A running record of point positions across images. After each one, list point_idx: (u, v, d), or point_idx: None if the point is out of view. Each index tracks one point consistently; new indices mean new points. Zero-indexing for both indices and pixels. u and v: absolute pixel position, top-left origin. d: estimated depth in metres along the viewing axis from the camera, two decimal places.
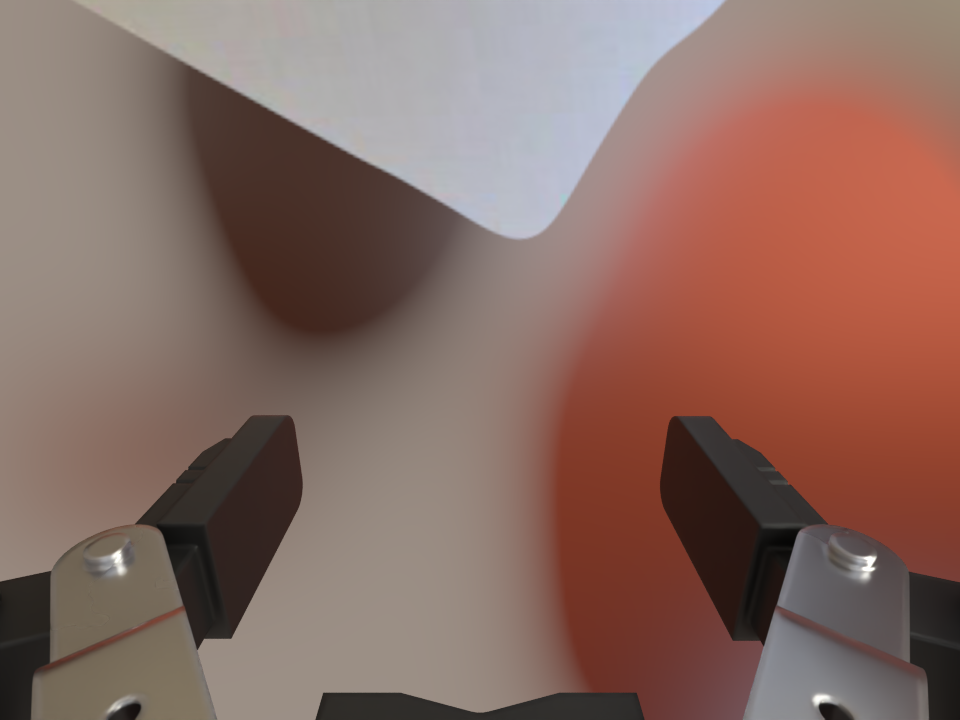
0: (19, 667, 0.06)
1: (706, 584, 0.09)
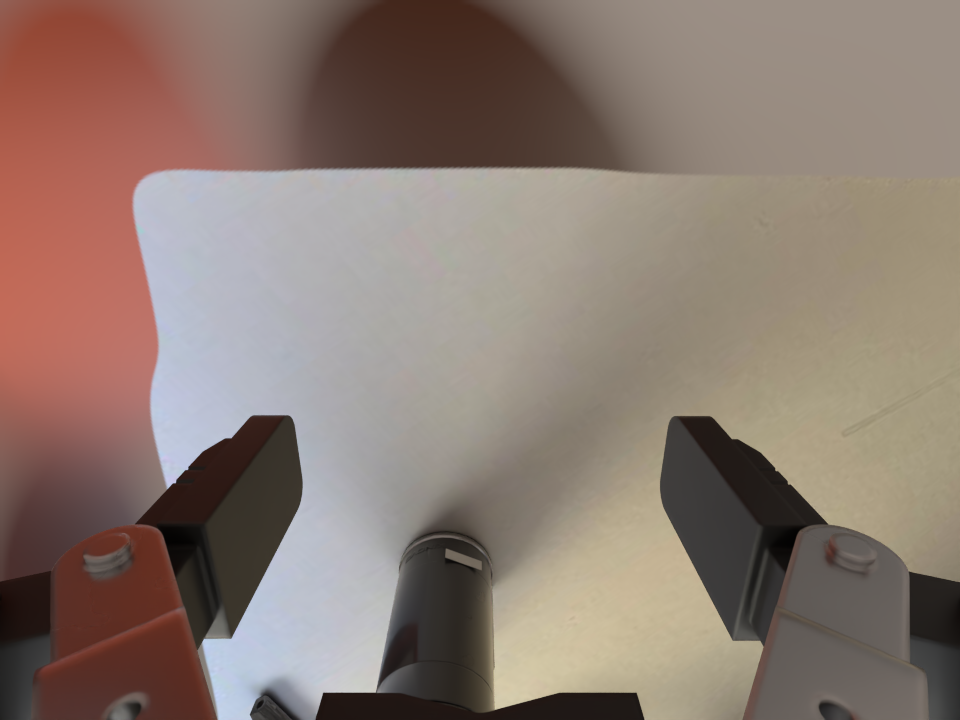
0: (19, 667, 0.06)
1: (706, 584, 0.09)
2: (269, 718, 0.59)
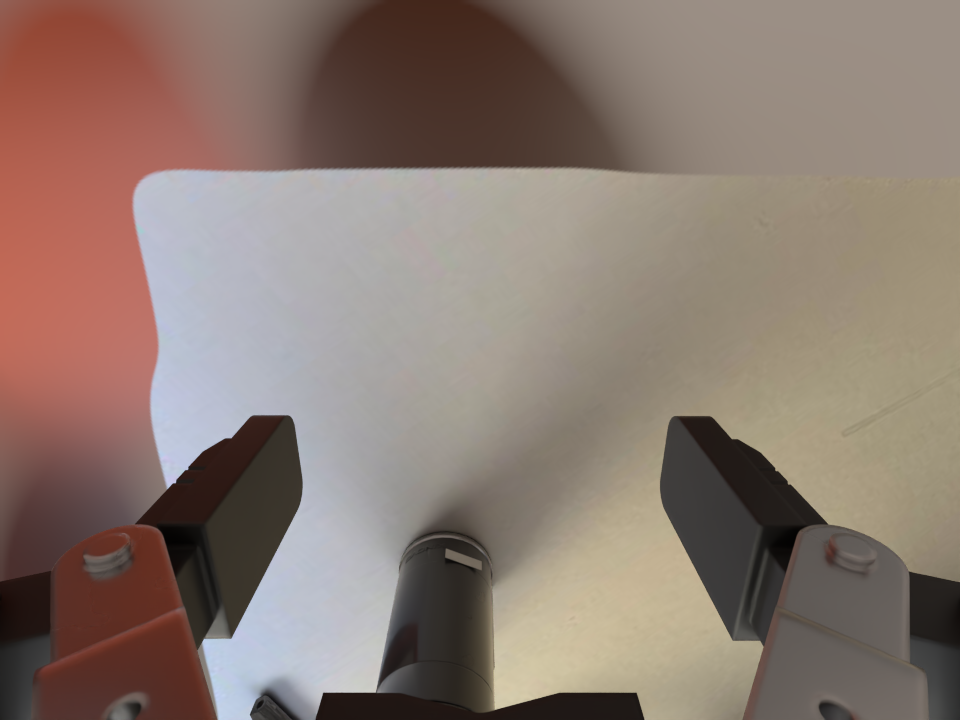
0: (19, 667, 0.06)
1: (706, 584, 0.09)
2: (269, 718, 0.59)
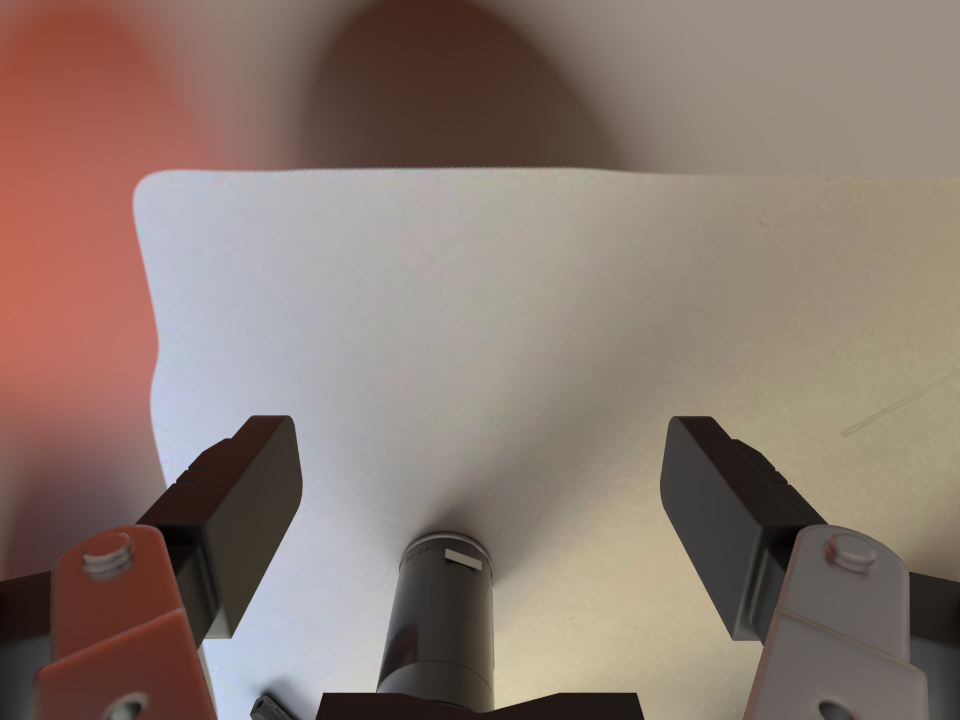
0: (19, 667, 0.06)
1: (706, 584, 0.09)
2: (269, 718, 0.59)
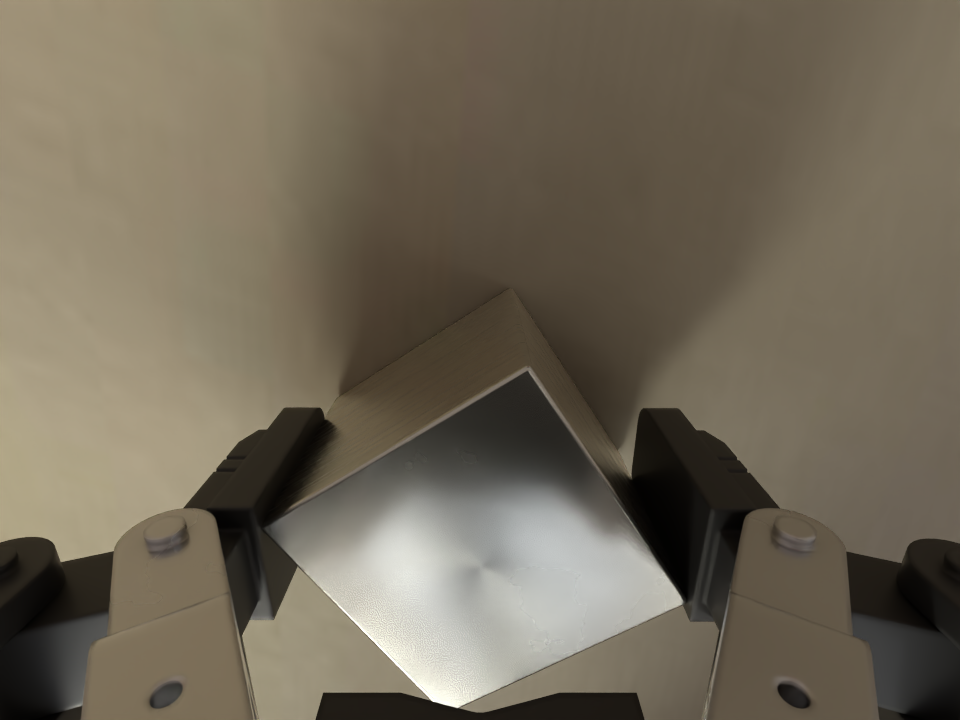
0: (76, 649, 0.06)
1: None
2: None
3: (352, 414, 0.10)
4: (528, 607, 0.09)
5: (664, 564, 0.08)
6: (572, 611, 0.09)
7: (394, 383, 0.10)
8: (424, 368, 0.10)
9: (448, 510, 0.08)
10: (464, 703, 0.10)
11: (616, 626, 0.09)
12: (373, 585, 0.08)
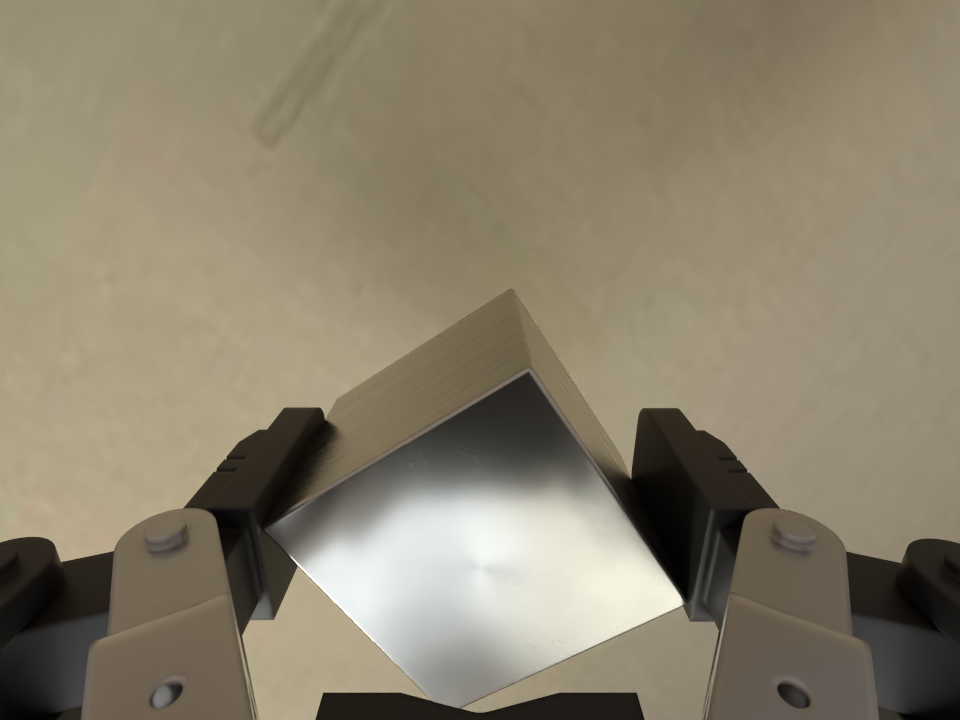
0: (76, 649, 0.06)
1: None
2: None
3: (353, 415, 0.10)
4: (529, 608, 0.09)
5: (665, 565, 0.08)
6: (573, 612, 0.09)
7: (395, 384, 0.10)
8: (425, 369, 0.10)
9: (449, 510, 0.08)
10: (465, 704, 0.10)
11: (617, 627, 0.09)
12: (375, 585, 0.08)
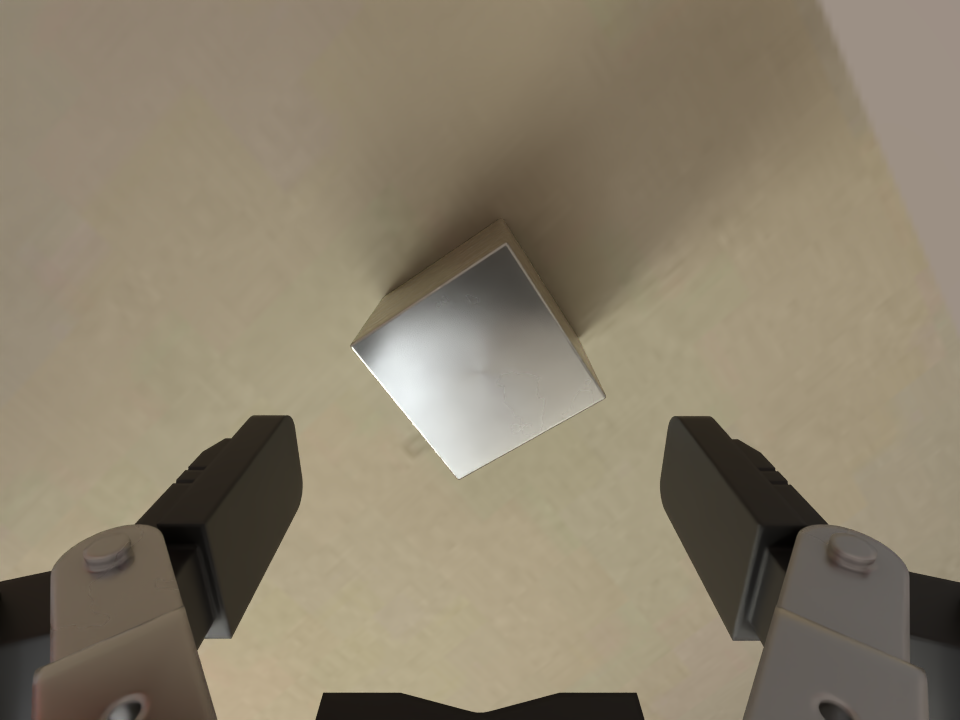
0: (19, 667, 0.06)
1: (705, 584, 0.09)
2: None
3: (398, 296, 0.16)
4: (509, 401, 0.14)
5: (590, 372, 0.14)
6: (536, 404, 0.14)
7: (425, 276, 0.16)
8: (444, 265, 0.16)
9: (461, 333, 0.14)
10: (470, 471, 0.15)
11: (563, 414, 0.14)
12: (416, 385, 0.14)
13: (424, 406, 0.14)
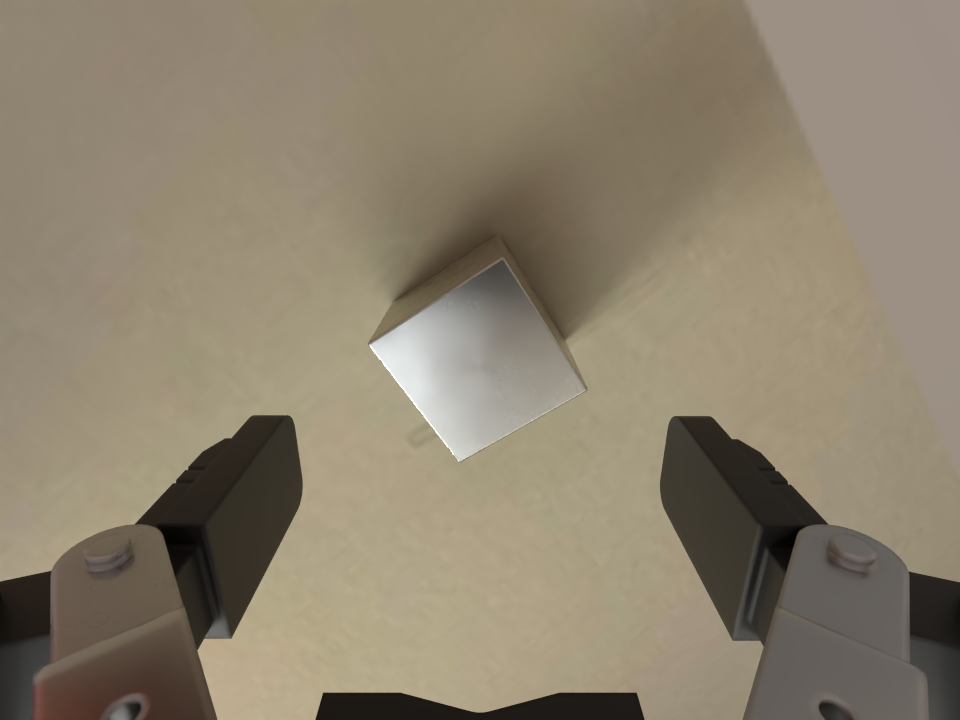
0: (19, 667, 0.06)
1: (705, 584, 0.09)
2: None
3: (407, 302, 0.18)
4: (504, 392, 0.17)
5: (574, 368, 0.16)
6: (527, 395, 0.17)
7: (431, 285, 0.18)
8: (448, 275, 0.18)
9: (463, 334, 0.16)
10: (470, 455, 0.17)
11: (550, 404, 0.17)
12: (424, 378, 0.16)
13: (431, 397, 0.17)
